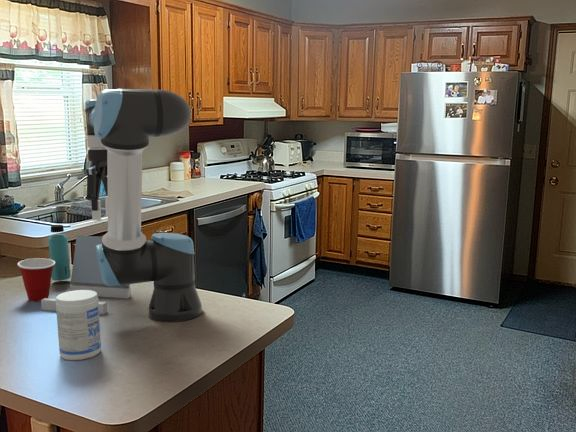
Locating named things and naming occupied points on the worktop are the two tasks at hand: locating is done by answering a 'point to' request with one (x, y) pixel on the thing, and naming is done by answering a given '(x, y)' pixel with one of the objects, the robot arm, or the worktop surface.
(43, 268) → the plastic cup
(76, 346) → the supplement tub
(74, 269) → the door
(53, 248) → the beverage bottle
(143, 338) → the worktop surface
